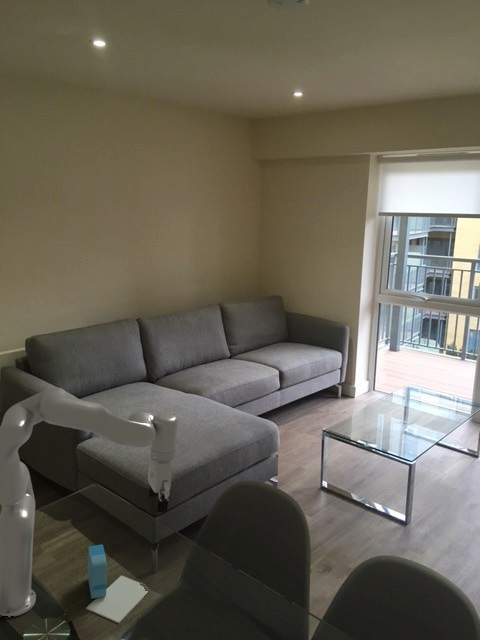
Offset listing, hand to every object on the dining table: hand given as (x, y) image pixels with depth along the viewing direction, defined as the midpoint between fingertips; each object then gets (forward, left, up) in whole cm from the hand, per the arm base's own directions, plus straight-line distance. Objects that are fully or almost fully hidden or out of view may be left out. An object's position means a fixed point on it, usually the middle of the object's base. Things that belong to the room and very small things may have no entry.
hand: (157, 503), depth 171 cm
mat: (-5, -10, -30) cm, 32 cm away
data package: (-14, -10, -30) cm, 34 cm away
